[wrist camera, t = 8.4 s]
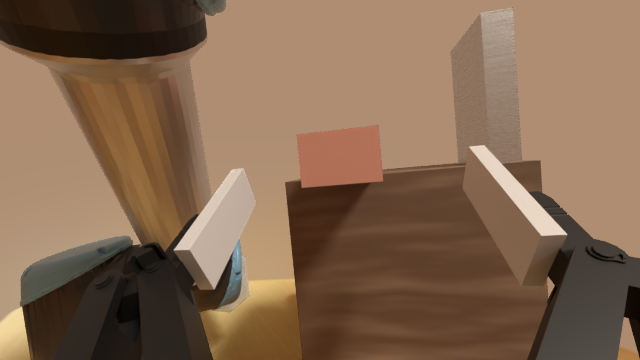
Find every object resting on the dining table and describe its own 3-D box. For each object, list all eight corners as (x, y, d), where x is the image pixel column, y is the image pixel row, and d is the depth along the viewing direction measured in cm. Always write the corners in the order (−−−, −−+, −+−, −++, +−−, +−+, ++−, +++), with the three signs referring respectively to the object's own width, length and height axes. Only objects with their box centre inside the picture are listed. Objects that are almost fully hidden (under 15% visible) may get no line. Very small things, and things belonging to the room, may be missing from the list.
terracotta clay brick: (383, 181, 14) (378, 125, 14) (301, 187, 15) (296, 134, 15) (371, 170, 36) (369, 148, 36) (338, 173, 37) (337, 152, 36)
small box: (232, 294, 70) (227, 255, 69) (250, 295, 68) (246, 255, 68) (210, 310, 62) (205, 267, 62) (230, 312, 60) (225, 267, 60)
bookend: (521, 161, 23) (512, 7, 22) (490, 163, 23) (480, 13, 23) (481, 161, 31) (474, 48, 30) (458, 163, 31) (450, 52, 31)
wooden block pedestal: (560, 517, 22) (540, 160, 21) (315, 488, 26) (285, 182, 24) (485, 381, 36) (470, 162, 35) (332, 375, 40) (313, 175, 38)
